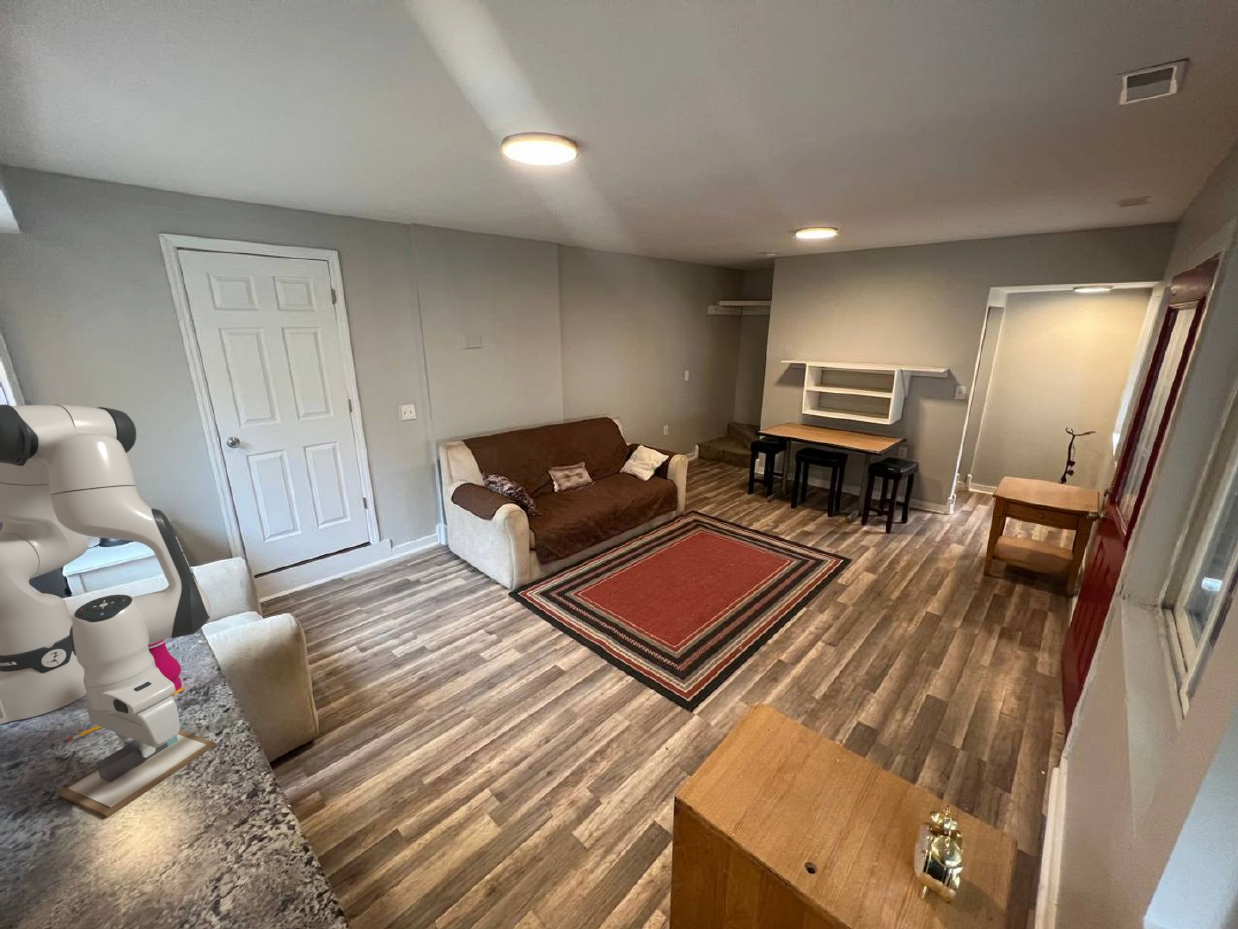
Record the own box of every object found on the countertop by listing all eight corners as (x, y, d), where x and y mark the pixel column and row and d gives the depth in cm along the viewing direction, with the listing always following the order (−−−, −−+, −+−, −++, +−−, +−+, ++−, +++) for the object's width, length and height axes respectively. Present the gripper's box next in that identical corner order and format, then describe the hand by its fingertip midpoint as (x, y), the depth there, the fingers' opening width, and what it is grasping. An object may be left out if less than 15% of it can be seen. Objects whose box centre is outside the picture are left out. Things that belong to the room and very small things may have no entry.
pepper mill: (158, 705, 104) (137, 621, 100) (132, 701, 105) (111, 618, 101) (193, 683, 111) (175, 605, 107) (168, 680, 112) (150, 602, 108)
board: (57, 795, 82) (56, 791, 82) (169, 729, 97) (168, 725, 97) (106, 818, 77) (105, 814, 77) (215, 745, 92) (214, 741, 92)
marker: (100, 777, 84) (96, 763, 84) (168, 736, 93) (165, 723, 93) (110, 782, 83) (106, 768, 83) (177, 740, 92) (174, 727, 92)
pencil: (67, 742, 94) (67, 739, 94) (190, 686, 110) (190, 683, 110) (69, 743, 94) (68, 740, 94) (192, 687, 110) (191, 685, 110)
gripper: (66, 684, 86) (84, 750, 89) (136, 709, 79) (153, 779, 82) (112, 664, 92) (127, 726, 94) (180, 686, 85) (195, 752, 88)
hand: (140, 751), depth 88 cm, fingers closed on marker, 3 cm apart
